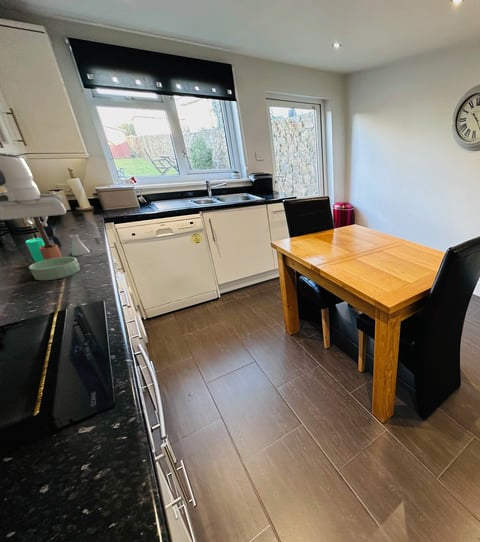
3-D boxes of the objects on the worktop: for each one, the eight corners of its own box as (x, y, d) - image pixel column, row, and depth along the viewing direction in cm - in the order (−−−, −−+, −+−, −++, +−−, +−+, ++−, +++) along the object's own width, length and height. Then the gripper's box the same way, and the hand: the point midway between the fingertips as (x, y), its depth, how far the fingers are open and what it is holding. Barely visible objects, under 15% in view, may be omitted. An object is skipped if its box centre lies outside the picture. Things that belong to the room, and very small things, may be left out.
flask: (93, 253, 145) (86, 234, 141) (74, 257, 140) (66, 238, 136) (87, 250, 149) (80, 232, 145) (69, 254, 143) (61, 235, 139)
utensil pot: (46, 268, 127) (38, 249, 124) (48, 264, 131) (40, 246, 128) (64, 265, 131) (56, 247, 127) (65, 261, 135) (58, 243, 131)
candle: (38, 259, 136) (27, 235, 131) (55, 257, 139) (45, 234, 134) (32, 263, 131) (20, 239, 127) (50, 261, 134) (39, 237, 129)
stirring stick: (46, 252, 127) (30, 217, 121) (47, 251, 128) (31, 216, 122) (54, 251, 129) (39, 216, 122) (55, 250, 130) (39, 216, 123)
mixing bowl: (31, 284, 113) (25, 272, 110) (37, 273, 123) (32, 261, 120) (79, 275, 121) (74, 263, 119) (81, 265, 131) (77, 254, 129)
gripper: (60, 192, 127) (72, 222, 132) (-10, 196, 115) (7, 228, 120) (58, 193, 122) (71, 224, 128) (-15, 198, 110) (3, 232, 116)
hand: (39, 226), depth 124 cm, fingers closed on stirring stick, 2 cm apart
